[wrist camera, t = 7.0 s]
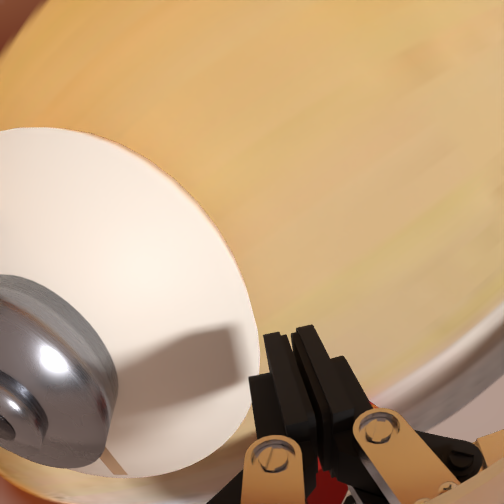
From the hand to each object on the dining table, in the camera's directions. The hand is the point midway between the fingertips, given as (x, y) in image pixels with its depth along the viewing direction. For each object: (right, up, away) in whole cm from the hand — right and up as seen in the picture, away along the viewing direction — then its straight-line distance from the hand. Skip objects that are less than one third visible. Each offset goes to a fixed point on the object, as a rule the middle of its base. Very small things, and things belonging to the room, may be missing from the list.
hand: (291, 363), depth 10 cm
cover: (-12, -1, +1) cm, 12 cm away
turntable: (-12, +3, +2) cm, 12 cm away
